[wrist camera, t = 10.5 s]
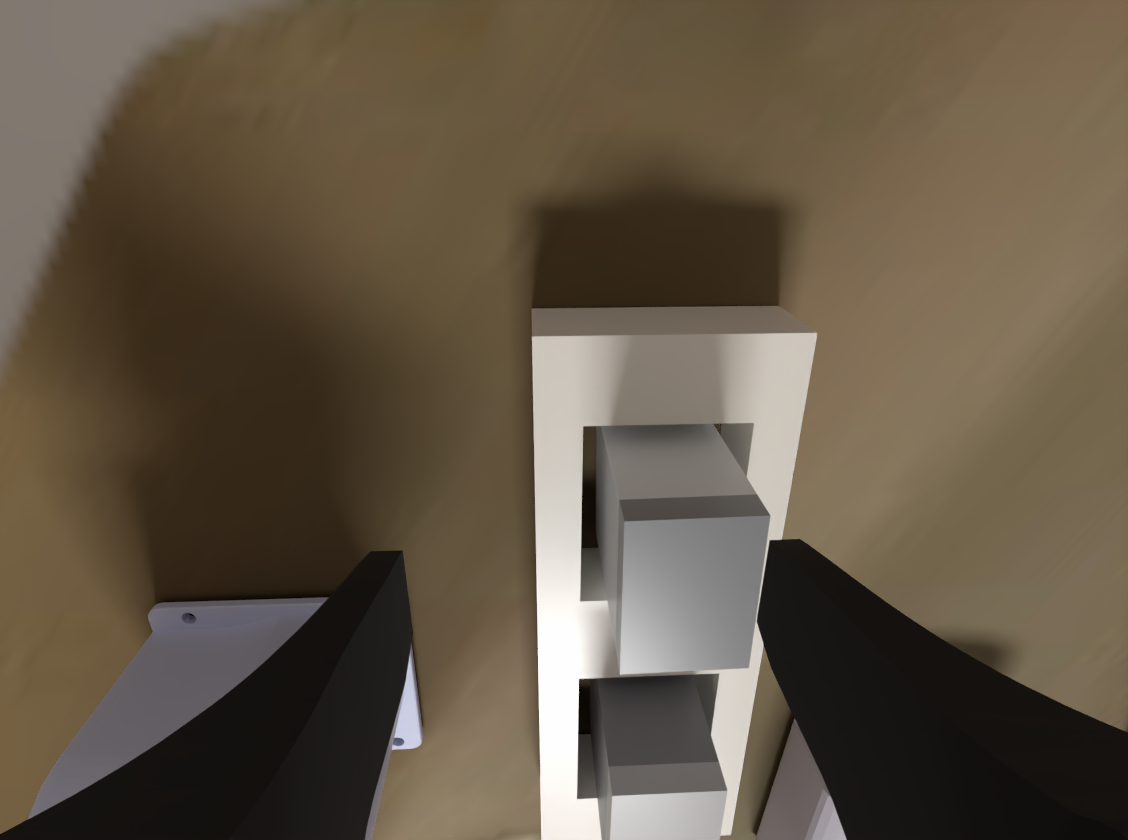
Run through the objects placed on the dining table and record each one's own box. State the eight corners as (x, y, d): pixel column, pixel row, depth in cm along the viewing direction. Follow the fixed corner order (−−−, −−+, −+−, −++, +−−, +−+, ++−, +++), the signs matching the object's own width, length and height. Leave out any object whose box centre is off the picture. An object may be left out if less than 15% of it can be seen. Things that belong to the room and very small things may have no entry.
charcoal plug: (589, 720, 28) (607, 893, 22) (591, 633, 26) (612, 795, 20) (670, 717, 28) (711, 888, 22) (679, 630, 26) (727, 790, 20)
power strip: (540, 778, 29) (542, 864, 26) (531, 308, 20) (532, 345, 17) (712, 770, 30) (736, 854, 26) (779, 305, 21) (829, 341, 17)
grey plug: (595, 529, 24) (619, 674, 18) (596, 407, 22) (624, 521, 16) (690, 525, 24) (749, 668, 18) (700, 403, 22) (770, 515, 16)
